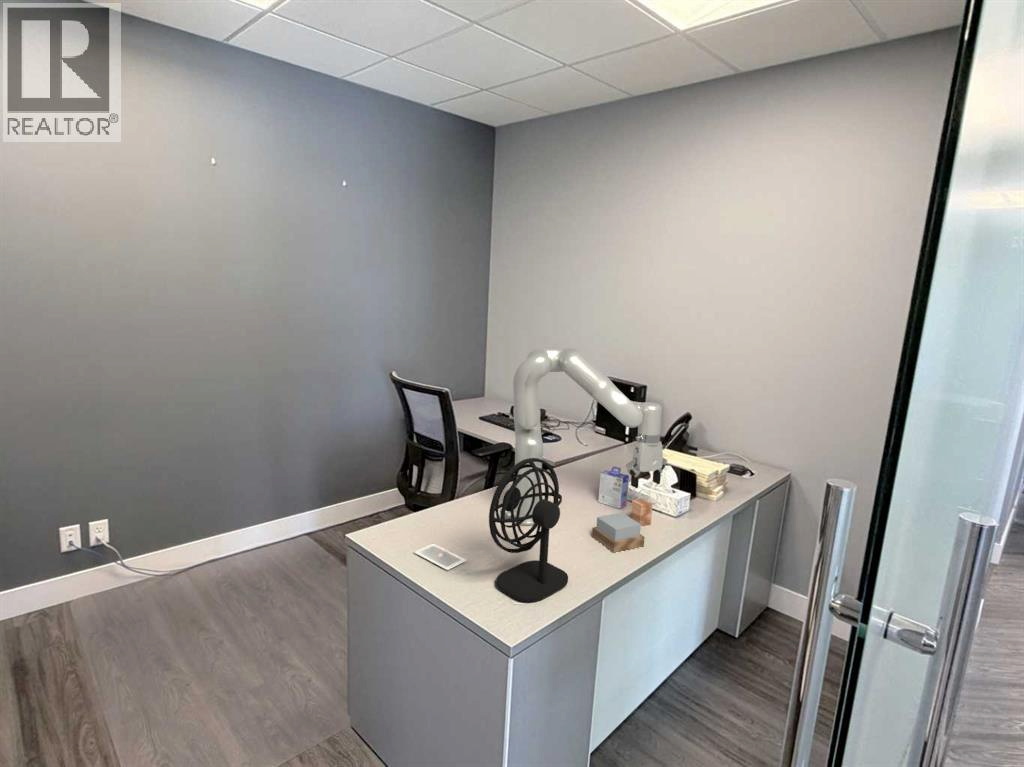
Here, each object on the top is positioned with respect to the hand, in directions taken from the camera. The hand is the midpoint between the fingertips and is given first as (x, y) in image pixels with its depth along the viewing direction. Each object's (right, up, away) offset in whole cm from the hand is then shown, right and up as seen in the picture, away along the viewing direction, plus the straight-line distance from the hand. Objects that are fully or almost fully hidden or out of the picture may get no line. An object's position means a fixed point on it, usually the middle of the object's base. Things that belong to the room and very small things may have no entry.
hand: (645, 484), depth 190 cm
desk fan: (-42, -20, -39) cm, 61 cm away
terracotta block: (-1, -14, +3) cm, 14 cm away
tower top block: (-12, -13, -13) cm, 22 cm away
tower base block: (-12, -17, -13) cm, 25 cm away
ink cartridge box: (-8, -11, +19) cm, 23 cm away
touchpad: (-69, -17, -28) cm, 76 cm away
